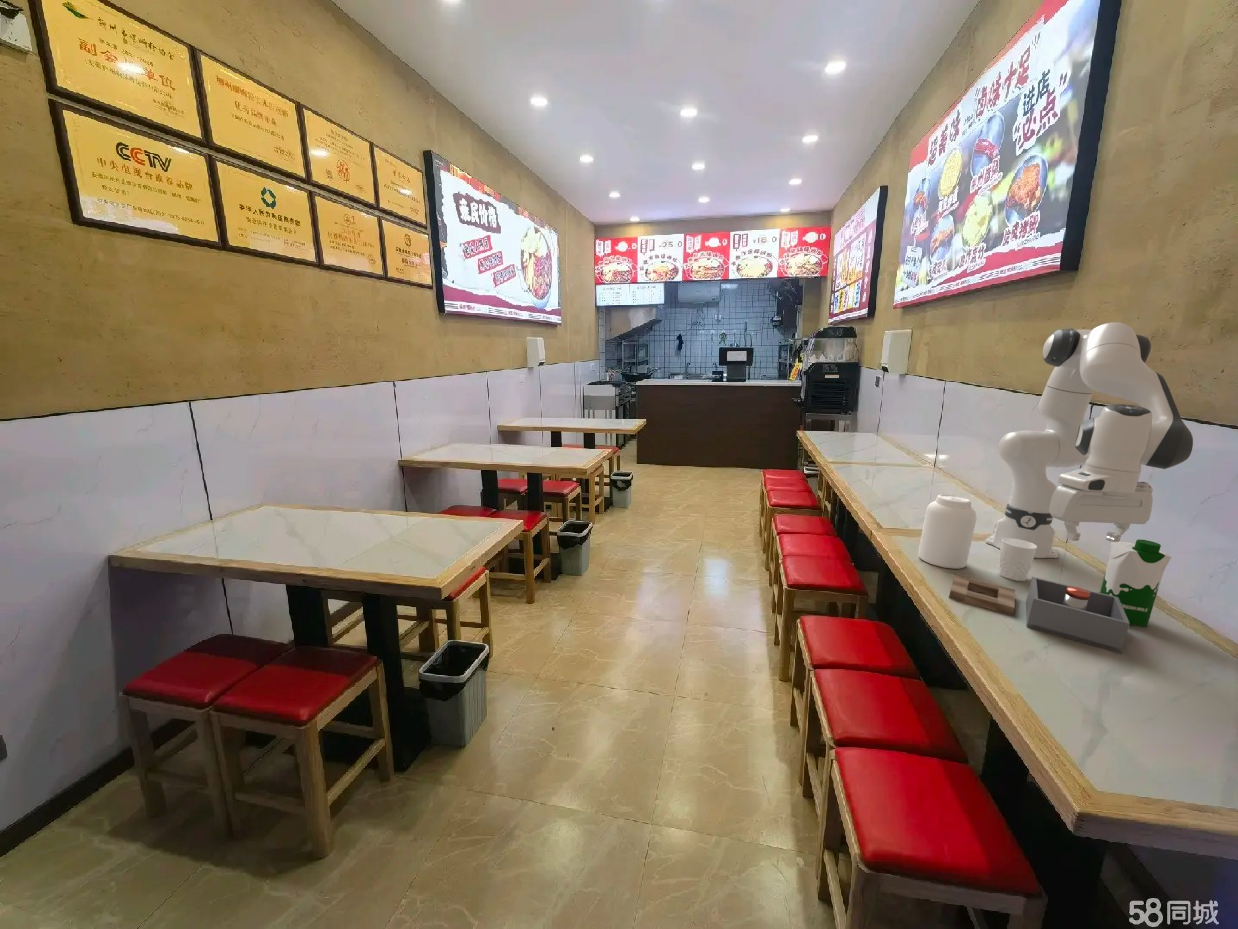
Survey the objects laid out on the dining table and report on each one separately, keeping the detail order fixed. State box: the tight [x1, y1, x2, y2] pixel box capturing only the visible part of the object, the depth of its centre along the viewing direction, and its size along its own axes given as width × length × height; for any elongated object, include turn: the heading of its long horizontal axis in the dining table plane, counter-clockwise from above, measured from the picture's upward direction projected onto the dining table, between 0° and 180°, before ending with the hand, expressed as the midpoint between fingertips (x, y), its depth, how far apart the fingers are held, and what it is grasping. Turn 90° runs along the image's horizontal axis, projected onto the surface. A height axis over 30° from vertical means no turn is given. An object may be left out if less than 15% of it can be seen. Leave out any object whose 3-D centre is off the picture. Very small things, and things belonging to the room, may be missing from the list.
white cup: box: [996, 538, 1037, 582], centre depth 144 cm, size 8×8×10 cm
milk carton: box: [1099, 539, 1172, 628], centre depth 122 cm, size 9×9×20 cm
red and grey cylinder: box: [1063, 585, 1090, 611], centre depth 118 cm, size 4×4×8 cm
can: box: [917, 493, 977, 570], centre depth 152 cm, size 12×12×20 cm
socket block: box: [948, 573, 1016, 617], centre depth 131 cm, size 13×13×2 cm
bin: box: [1025, 576, 1131, 655], centre depth 118 cm, size 16×16×7 cm
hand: (1092, 540), depth 114 cm, fingers open, 8 cm apart
